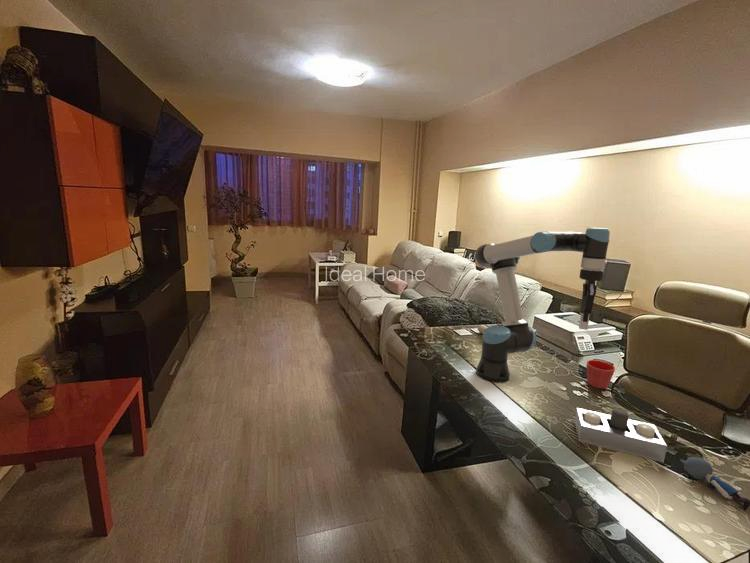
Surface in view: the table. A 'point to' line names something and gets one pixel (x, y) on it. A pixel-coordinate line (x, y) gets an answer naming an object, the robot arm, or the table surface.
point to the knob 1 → (592, 418)
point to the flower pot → (599, 373)
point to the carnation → (481, 329)
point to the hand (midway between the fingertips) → (583, 328)
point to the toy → (712, 479)
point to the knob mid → (619, 419)
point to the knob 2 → (645, 430)
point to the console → (620, 437)
